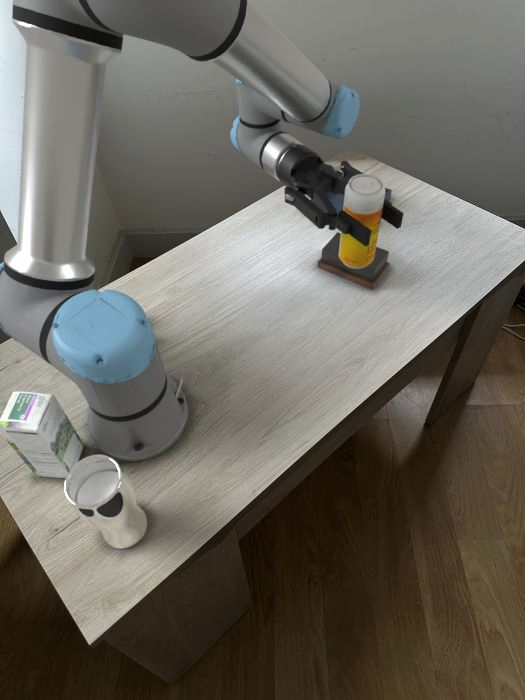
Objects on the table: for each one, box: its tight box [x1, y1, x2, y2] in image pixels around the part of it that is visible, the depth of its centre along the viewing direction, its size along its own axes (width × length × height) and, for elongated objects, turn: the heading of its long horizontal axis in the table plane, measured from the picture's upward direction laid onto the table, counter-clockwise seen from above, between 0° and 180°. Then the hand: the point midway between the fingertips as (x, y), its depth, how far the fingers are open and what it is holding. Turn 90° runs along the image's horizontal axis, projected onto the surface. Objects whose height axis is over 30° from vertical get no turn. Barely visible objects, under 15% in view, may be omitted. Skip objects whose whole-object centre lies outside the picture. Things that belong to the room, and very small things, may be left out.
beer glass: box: [63, 454, 148, 550], centre depth 65 cm, size 7×7×15 cm
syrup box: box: [0, 391, 85, 479], centre depth 72 cm, size 6×6×14 cm
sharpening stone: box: [317, 231, 391, 291], centre depth 99 cm, size 12×7×4 cm, turn 56°
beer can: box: [339, 173, 386, 269], centre depth 84 cm, size 6×6×15 cm
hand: (384, 229), depth 80 cm, fingers closed on beer can, 6 cm apart
